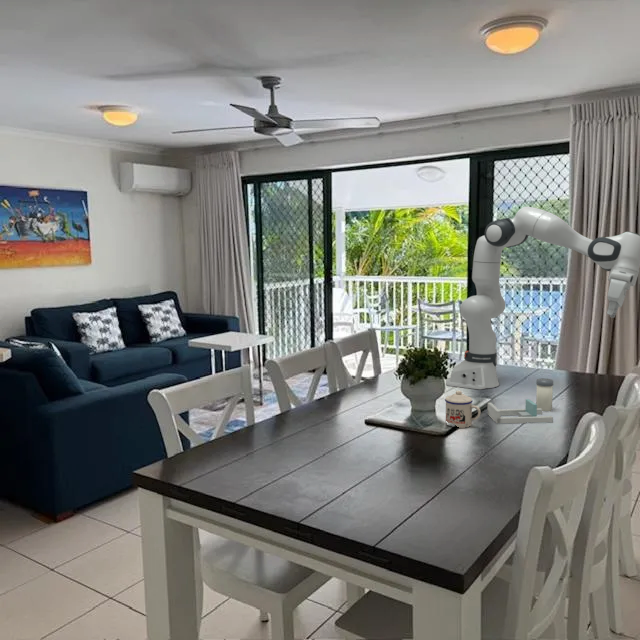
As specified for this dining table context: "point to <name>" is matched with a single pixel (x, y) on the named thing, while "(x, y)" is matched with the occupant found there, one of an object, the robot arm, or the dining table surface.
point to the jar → (544, 394)
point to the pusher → (529, 409)
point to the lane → (497, 413)
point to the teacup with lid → (460, 410)
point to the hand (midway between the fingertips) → (610, 316)
